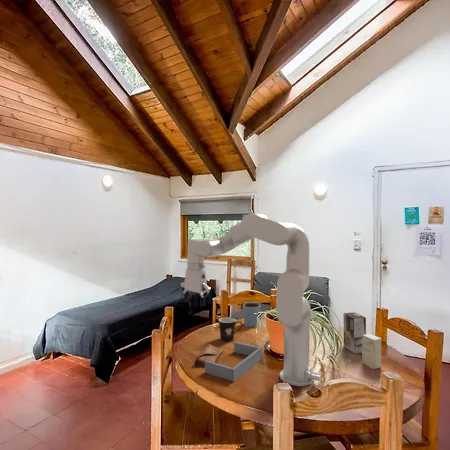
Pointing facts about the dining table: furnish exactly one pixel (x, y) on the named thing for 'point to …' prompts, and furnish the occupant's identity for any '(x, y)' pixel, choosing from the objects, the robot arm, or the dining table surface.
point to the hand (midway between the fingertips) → (194, 303)
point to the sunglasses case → (208, 355)
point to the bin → (238, 370)
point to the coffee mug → (227, 328)
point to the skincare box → (371, 351)
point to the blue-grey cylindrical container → (251, 314)
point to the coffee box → (354, 331)
